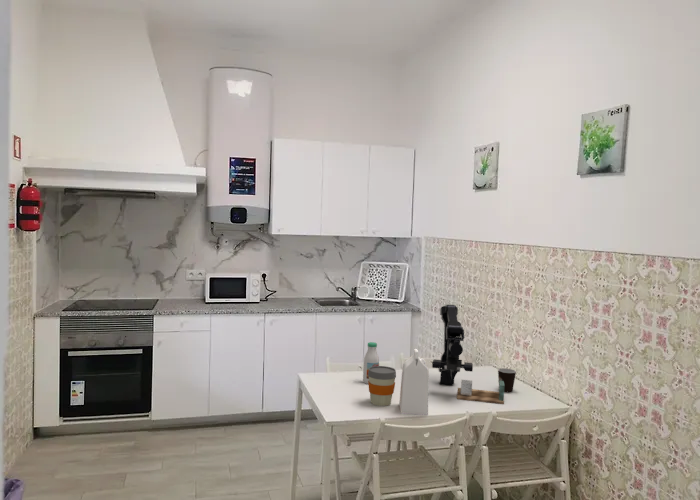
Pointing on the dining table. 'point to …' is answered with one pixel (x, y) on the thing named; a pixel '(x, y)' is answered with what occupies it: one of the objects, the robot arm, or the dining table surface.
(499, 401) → the rail board
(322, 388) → the dining table surface
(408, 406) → the milk
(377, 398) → the reusable coffee cup
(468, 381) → the metal slider block
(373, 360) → the milk bottle
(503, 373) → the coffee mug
